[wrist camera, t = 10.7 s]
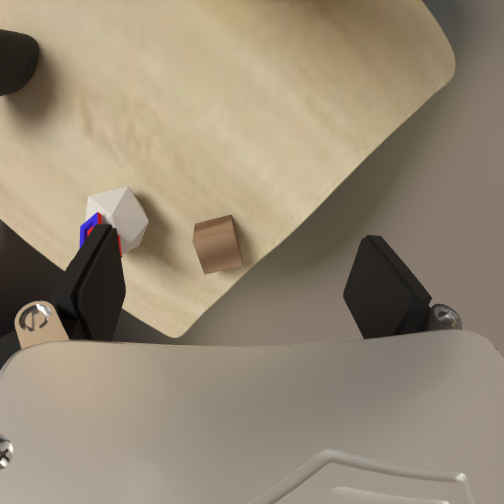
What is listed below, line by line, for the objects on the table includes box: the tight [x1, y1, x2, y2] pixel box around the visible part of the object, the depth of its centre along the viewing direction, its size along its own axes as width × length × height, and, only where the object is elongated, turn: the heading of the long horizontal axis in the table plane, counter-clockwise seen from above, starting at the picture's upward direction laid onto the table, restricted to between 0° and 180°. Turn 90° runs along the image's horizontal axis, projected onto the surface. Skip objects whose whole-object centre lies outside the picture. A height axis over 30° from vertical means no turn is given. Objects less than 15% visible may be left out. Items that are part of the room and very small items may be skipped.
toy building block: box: [80, 212, 122, 258], centre depth 29 cm, size 3×4×7 cm
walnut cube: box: [193, 215, 243, 274], centre depth 39 cm, size 5×5×5 cm
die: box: [85, 186, 149, 255], centre depth 34 cm, size 8×9×10 cm
